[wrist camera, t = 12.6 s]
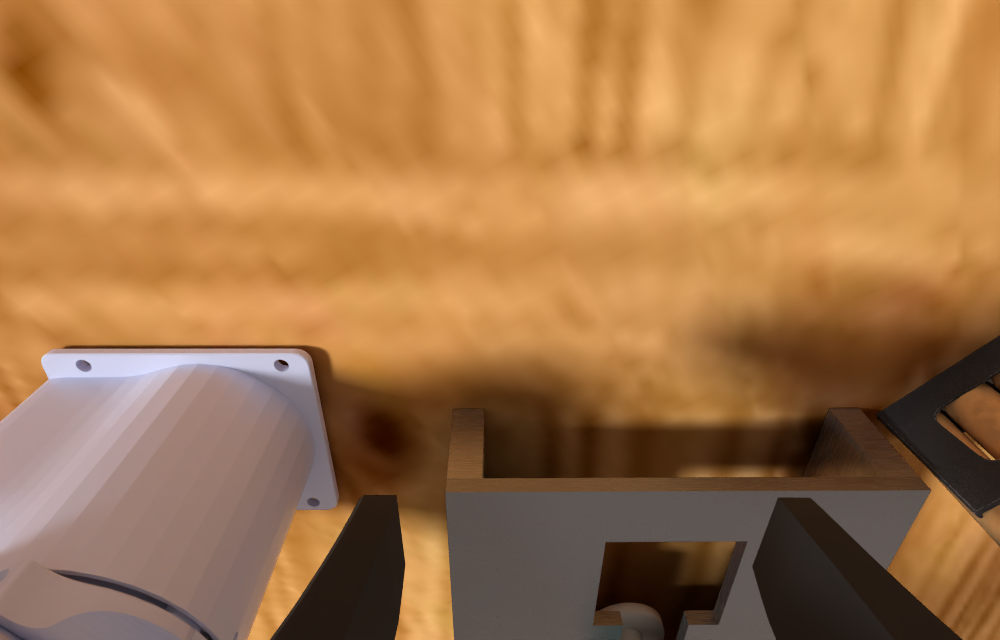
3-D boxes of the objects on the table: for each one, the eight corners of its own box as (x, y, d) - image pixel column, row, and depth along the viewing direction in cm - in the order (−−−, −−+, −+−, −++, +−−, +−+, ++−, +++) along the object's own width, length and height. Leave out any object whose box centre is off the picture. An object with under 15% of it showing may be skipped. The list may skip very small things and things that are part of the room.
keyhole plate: (466, 700, 33) (463, 788, 30) (452, 409, 22) (445, 492, 18) (736, 698, 33) (766, 784, 30) (859, 408, 22) (931, 490, 19)
